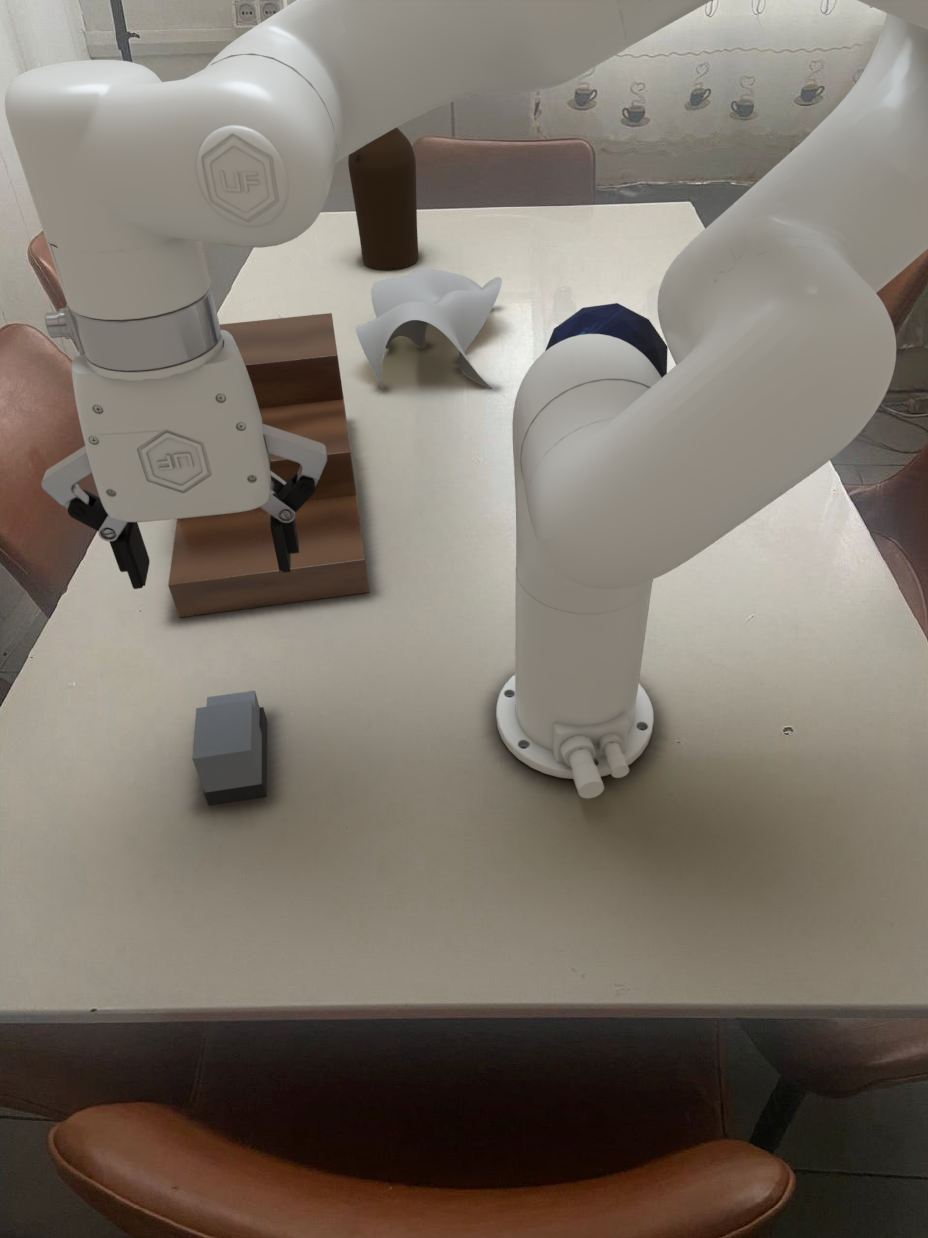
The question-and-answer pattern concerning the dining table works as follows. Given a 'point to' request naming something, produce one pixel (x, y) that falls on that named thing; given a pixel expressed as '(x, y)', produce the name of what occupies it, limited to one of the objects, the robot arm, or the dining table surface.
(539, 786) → the dining table surface
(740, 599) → the dining table surface
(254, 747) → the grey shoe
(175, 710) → the dining table surface
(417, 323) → the sculpture
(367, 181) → the olive oil
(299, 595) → the wooden step block
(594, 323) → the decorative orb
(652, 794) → the dining table surface
